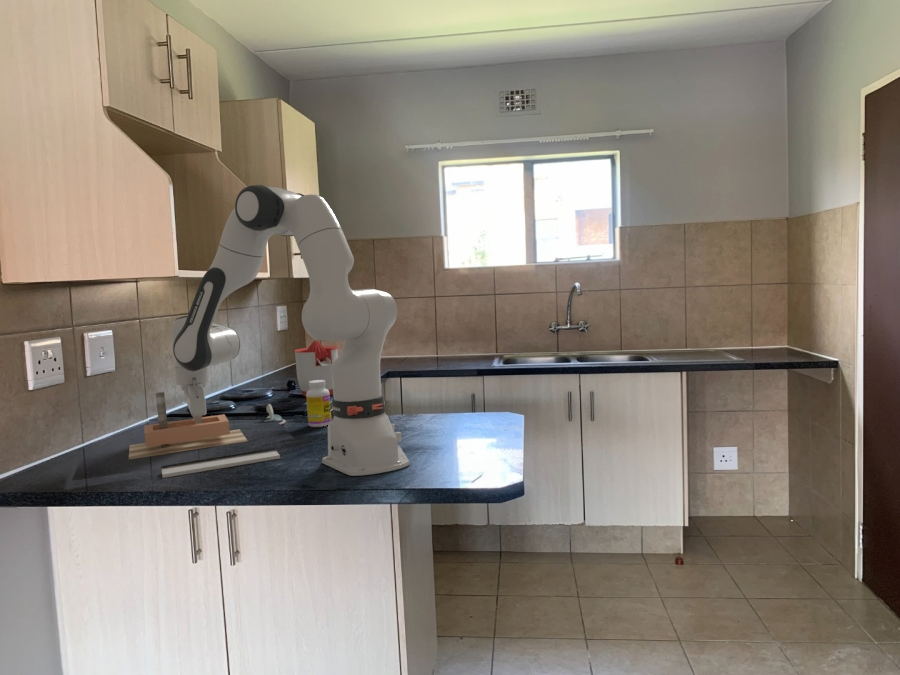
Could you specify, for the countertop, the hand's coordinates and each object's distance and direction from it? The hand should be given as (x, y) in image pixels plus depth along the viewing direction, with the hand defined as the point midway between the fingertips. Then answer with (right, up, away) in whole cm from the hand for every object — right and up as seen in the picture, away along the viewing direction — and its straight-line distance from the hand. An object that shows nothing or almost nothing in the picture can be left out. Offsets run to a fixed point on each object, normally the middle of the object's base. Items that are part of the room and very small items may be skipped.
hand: (198, 427), depth 182 cm
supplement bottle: (+30, -2, +15) cm, 33 cm away
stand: (-1, -5, -4) cm, 7 cm away
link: (-1, -2, -5) cm, 5 cm away
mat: (+12, -6, -18) cm, 22 cm away
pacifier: (+15, -2, +20) cm, 26 cm away
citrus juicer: (+20, +3, +64) cm, 68 cm away
